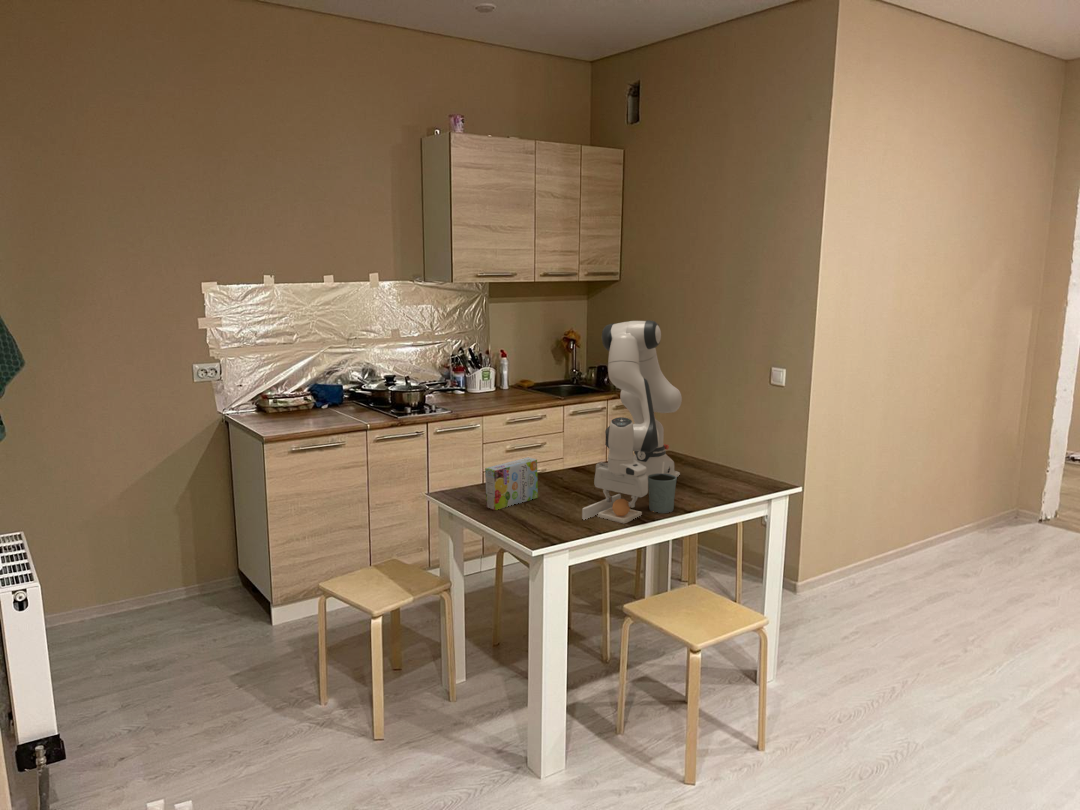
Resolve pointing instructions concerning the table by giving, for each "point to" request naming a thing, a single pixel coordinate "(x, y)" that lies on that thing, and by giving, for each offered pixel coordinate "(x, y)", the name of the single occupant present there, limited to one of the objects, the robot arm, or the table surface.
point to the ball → (621, 507)
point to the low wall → (598, 507)
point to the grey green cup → (661, 492)
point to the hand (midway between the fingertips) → (620, 504)
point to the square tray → (624, 519)
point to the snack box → (511, 483)
